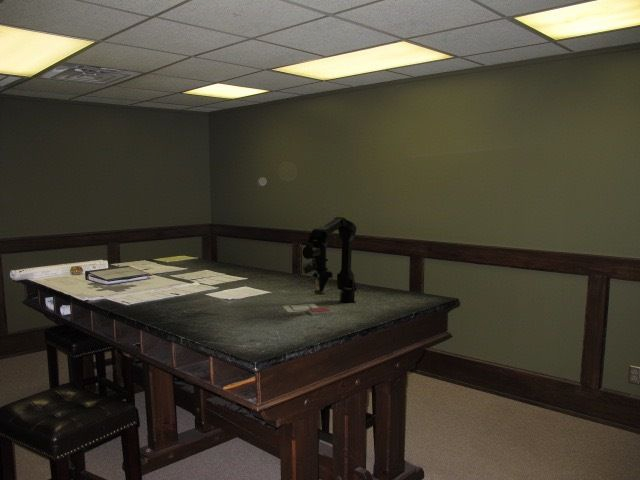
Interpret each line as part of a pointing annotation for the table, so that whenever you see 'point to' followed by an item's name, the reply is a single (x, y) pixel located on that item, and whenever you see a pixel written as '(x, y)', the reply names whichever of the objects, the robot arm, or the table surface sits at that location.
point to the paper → (299, 307)
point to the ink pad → (319, 311)
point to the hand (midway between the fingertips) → (319, 290)
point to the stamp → (318, 289)
